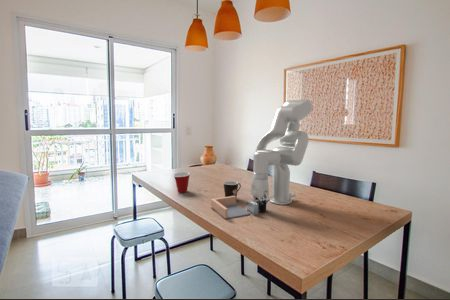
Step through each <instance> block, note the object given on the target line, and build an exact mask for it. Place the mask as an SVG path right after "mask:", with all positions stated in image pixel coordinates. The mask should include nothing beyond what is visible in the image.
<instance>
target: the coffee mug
mask: <svg viewBox="0 0 450 300" xmlns="http://www.w3.org/2000/svg"><path fill="white" fill-rule="evenodd" d="M238 187H239V188H238ZM241 187H242V186H241V183H239V182H238V181H234V180H228V181H224V182H223V189H224V190H223V191H224V197H229V196H236V198H237V196H238V192H239V191H240V189H241Z"/></svg>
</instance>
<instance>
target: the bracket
mask: <svg viewBox="0 0 450 300" xmlns="http://www.w3.org/2000/svg"><path fill="white" fill-rule="evenodd" d="M263 201H264V199H263ZM246 203H247V204H246V207H247V208H246V211H247V212H249V213H250V215H252V216H258V215H259V212H261V211H260V205H261V199H258V200H254V199H253V200H252V199H251V200H246Z"/></svg>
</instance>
